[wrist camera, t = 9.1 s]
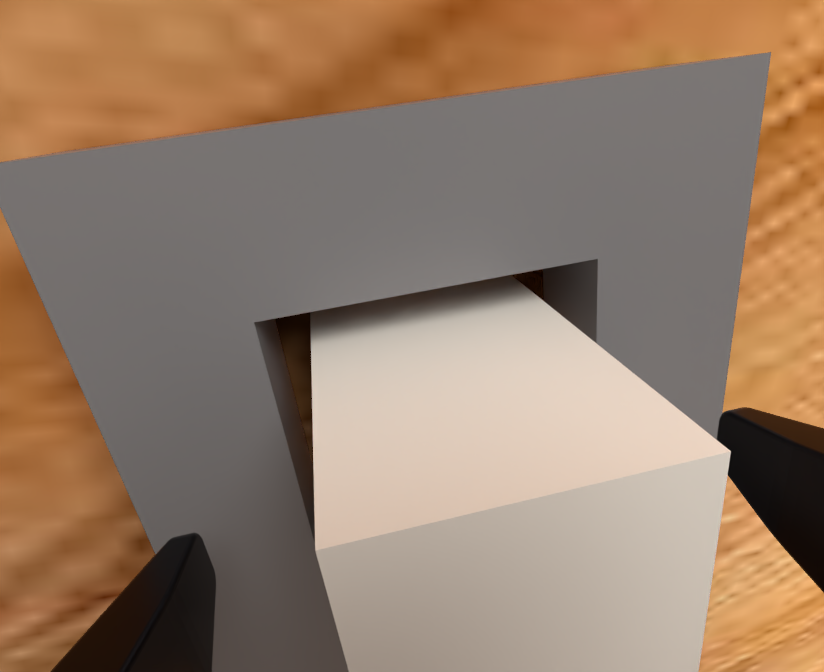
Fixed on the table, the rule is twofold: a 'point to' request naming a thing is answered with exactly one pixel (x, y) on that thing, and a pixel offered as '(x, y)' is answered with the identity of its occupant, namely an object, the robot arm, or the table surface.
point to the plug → (504, 492)
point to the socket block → (372, 284)
